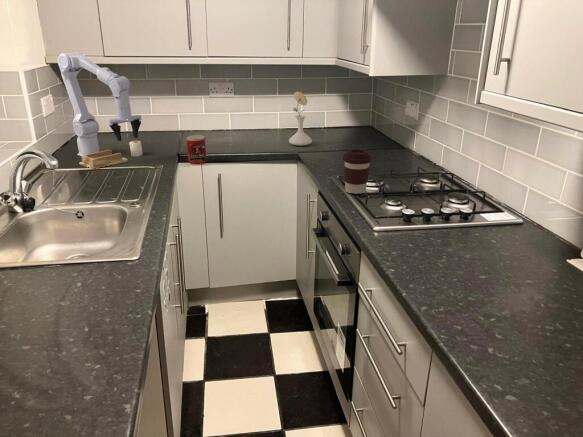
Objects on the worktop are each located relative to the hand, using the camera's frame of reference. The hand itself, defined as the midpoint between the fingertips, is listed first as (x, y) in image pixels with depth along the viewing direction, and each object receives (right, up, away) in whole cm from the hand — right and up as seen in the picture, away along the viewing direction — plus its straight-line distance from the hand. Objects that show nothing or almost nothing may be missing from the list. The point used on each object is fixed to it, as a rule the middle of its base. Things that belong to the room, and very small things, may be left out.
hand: (127, 139), depth 201 cm
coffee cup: (+93, -25, -32) cm, 102 cm away
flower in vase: (+74, +2, +29) cm, 80 cm away
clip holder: (-11, -10, +2) cm, 15 cm away
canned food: (+30, -10, +2) cm, 31 cm away
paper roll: (0, -5, +13) cm, 14 cm away
